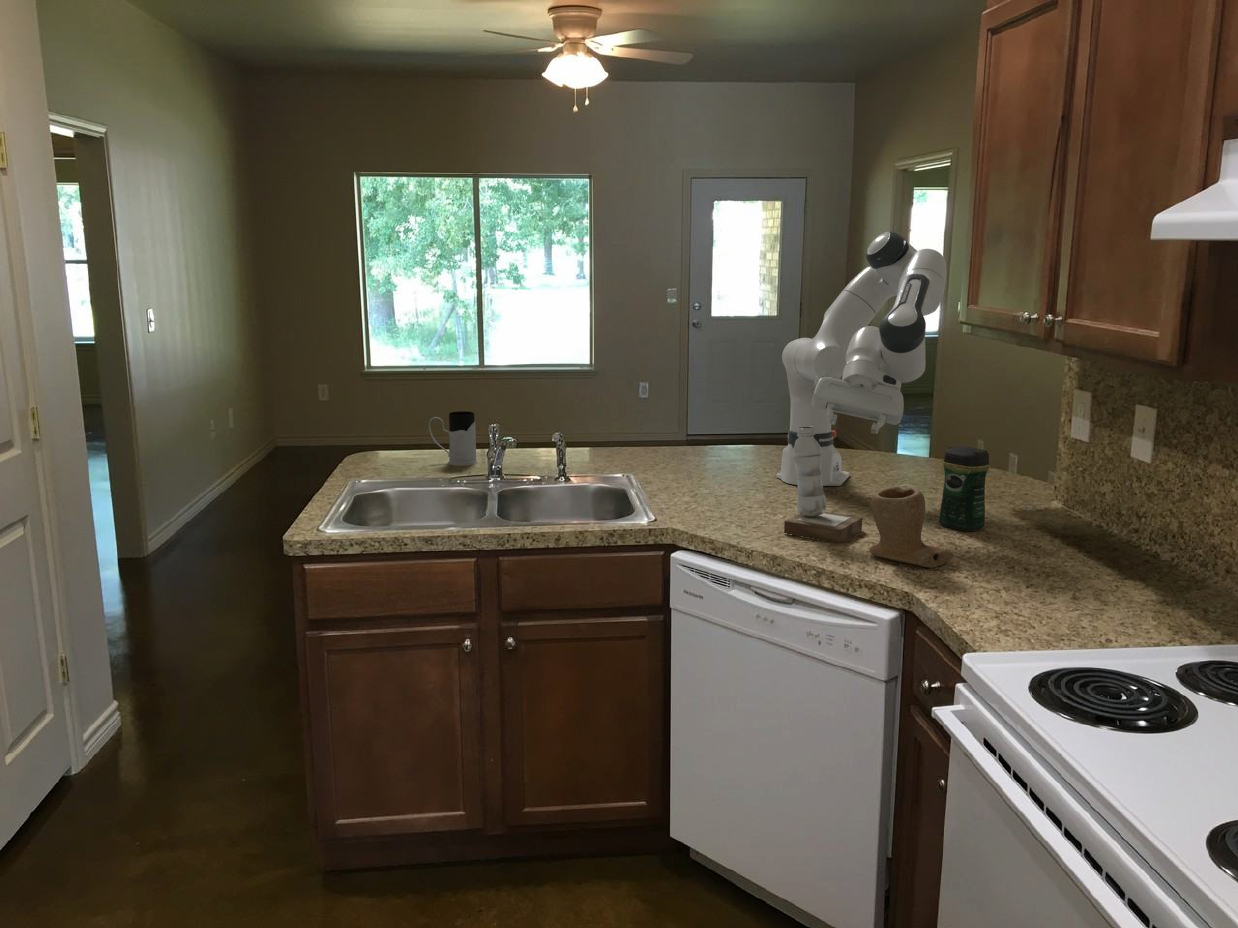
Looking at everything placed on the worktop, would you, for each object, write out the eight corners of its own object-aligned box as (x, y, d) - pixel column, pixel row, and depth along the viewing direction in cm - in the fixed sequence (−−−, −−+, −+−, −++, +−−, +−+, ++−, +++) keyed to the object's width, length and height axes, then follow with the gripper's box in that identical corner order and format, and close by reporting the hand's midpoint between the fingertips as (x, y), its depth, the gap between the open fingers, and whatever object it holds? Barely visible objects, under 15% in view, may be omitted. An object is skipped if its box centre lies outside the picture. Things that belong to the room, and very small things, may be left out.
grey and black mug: (475, 465, 287) (474, 415, 284) (427, 465, 287) (425, 415, 284) (479, 460, 295) (478, 411, 292) (433, 459, 295) (431, 410, 292)
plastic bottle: (810, 520, 213) (803, 430, 211) (791, 516, 220) (784, 428, 217) (833, 515, 216) (826, 426, 214) (814, 511, 222) (807, 425, 220)
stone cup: (855, 558, 198) (859, 486, 195) (889, 547, 206) (894, 478, 203) (920, 576, 187) (926, 500, 184) (954, 564, 194) (960, 491, 191)
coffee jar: (990, 529, 221) (997, 448, 217) (967, 534, 217) (974, 452, 213) (955, 519, 229) (961, 442, 225) (932, 524, 225) (938, 445, 221)
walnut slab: (807, 521, 226) (808, 508, 225) (861, 530, 219) (862, 516, 218) (784, 534, 216) (784, 520, 215) (839, 543, 208) (840, 529, 208)
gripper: (818, 364, 223) (809, 407, 215) (908, 382, 220) (902, 428, 212) (813, 382, 228) (804, 426, 220) (901, 401, 225) (895, 446, 217)
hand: (853, 427), depth 216 cm, fingers open, 8 cm apart
